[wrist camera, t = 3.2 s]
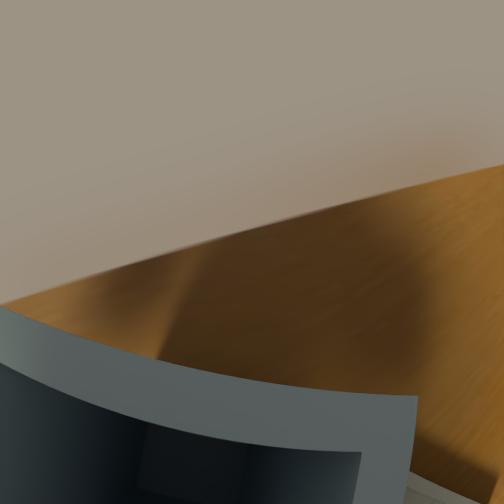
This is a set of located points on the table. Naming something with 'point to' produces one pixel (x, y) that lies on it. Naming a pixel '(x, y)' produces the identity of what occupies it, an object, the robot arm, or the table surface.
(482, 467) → the table surface
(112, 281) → the table surface
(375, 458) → the slim crate
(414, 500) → the shallow crate
